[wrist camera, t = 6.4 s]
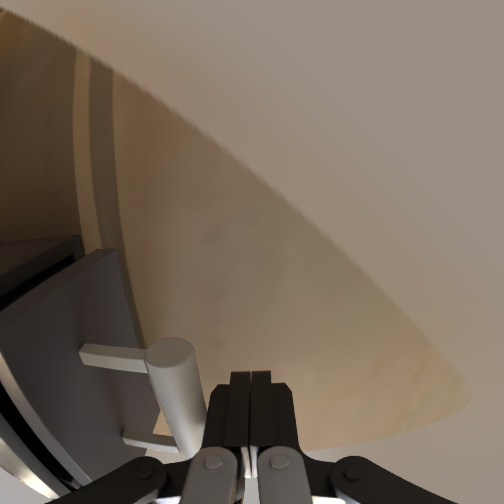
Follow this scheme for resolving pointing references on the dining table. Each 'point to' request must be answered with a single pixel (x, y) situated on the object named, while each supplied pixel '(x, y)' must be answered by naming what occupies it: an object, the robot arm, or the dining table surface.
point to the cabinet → (3, 281)
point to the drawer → (91, 374)
